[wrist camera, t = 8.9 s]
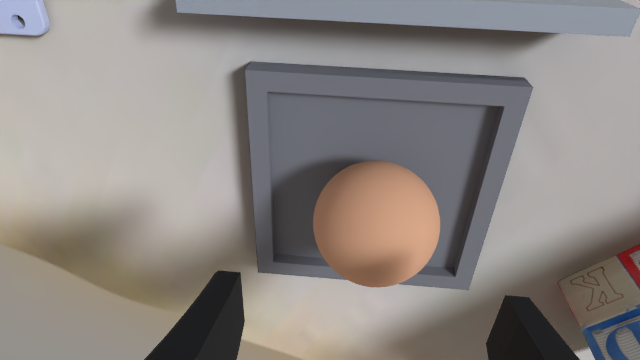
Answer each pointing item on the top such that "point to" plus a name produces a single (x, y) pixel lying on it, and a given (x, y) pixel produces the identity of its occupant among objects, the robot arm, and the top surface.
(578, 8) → the low wall
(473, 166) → the tray
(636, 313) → the stack of blocks
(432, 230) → the ball
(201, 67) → the top surface
